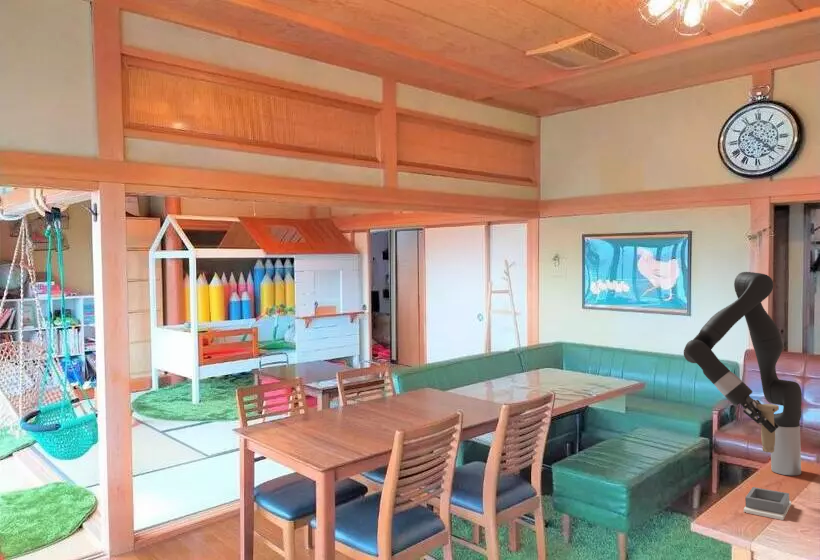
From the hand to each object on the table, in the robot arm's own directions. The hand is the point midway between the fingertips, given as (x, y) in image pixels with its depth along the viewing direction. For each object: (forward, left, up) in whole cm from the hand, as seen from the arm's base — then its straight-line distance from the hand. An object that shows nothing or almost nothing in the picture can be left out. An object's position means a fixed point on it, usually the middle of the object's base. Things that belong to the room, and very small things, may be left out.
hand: (775, 429), depth 195 cm
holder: (+11, -1, -22) cm, 25 cm away
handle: (0, -2, -8) cm, 8 cm away
